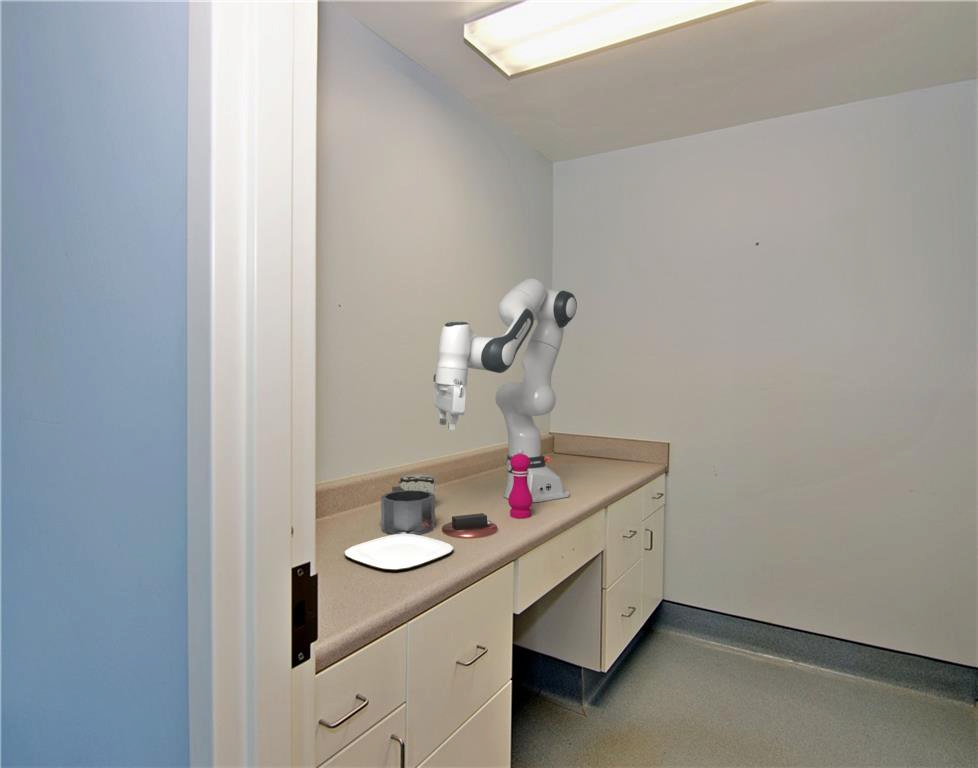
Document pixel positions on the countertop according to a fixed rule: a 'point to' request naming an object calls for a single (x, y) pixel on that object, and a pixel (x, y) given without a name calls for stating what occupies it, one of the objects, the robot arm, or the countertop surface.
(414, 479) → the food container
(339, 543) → the countertop surface
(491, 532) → the lid
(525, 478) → the pepper mill
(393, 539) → the plate
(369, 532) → the countertop surface
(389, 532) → the pot
